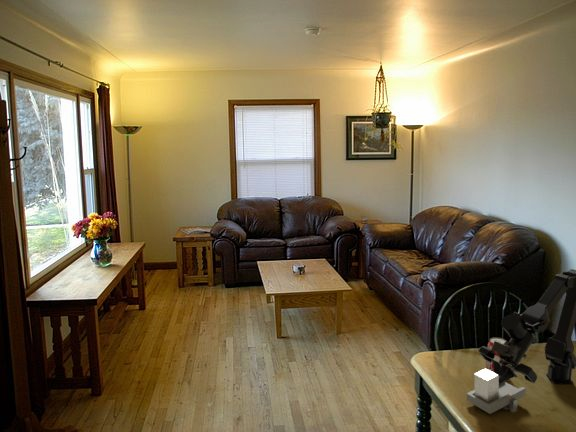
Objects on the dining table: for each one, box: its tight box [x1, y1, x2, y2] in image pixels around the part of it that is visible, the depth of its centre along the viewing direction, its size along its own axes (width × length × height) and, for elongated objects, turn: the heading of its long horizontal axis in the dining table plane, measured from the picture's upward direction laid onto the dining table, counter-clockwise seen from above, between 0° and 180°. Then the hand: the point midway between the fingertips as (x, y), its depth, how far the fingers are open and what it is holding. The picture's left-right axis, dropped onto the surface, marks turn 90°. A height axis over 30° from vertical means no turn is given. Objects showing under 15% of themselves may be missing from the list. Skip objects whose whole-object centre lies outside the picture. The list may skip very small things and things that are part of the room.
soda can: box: [485, 337, 507, 372], centre depth 183 cm, size 7×7×12 cm
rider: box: [474, 367, 499, 404], centre depth 159 cm, size 5×5×9 cm
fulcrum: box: [501, 399, 519, 414], centre depth 163 cm, size 3×12×4 cm, turn 29°
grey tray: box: [466, 381, 526, 415], centre depth 162 cm, size 16×9×3 cm, turn 118°
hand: (492, 385), depth 160 cm, fingers closed, pressing on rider
